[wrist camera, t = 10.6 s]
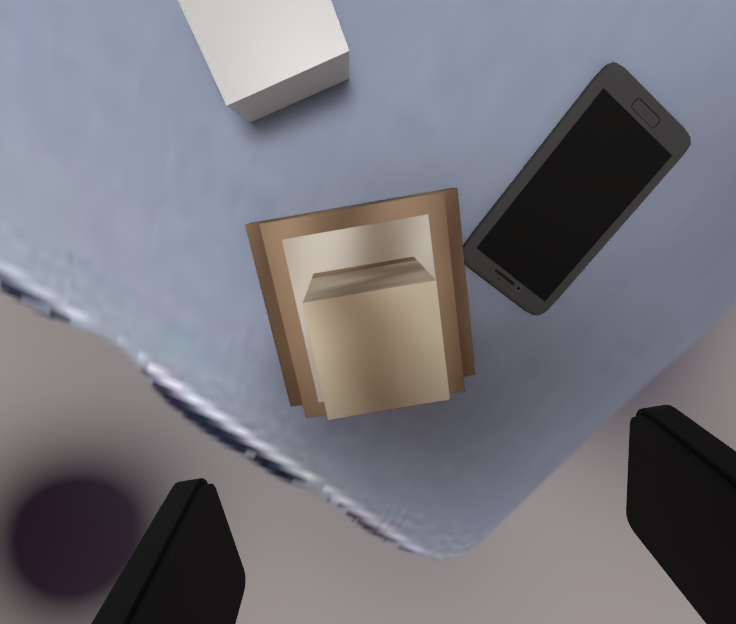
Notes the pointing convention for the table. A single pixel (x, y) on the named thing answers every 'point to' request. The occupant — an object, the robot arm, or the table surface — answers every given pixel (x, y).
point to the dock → (355, 248)
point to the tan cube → (376, 337)
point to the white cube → (269, 50)
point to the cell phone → (576, 190)
